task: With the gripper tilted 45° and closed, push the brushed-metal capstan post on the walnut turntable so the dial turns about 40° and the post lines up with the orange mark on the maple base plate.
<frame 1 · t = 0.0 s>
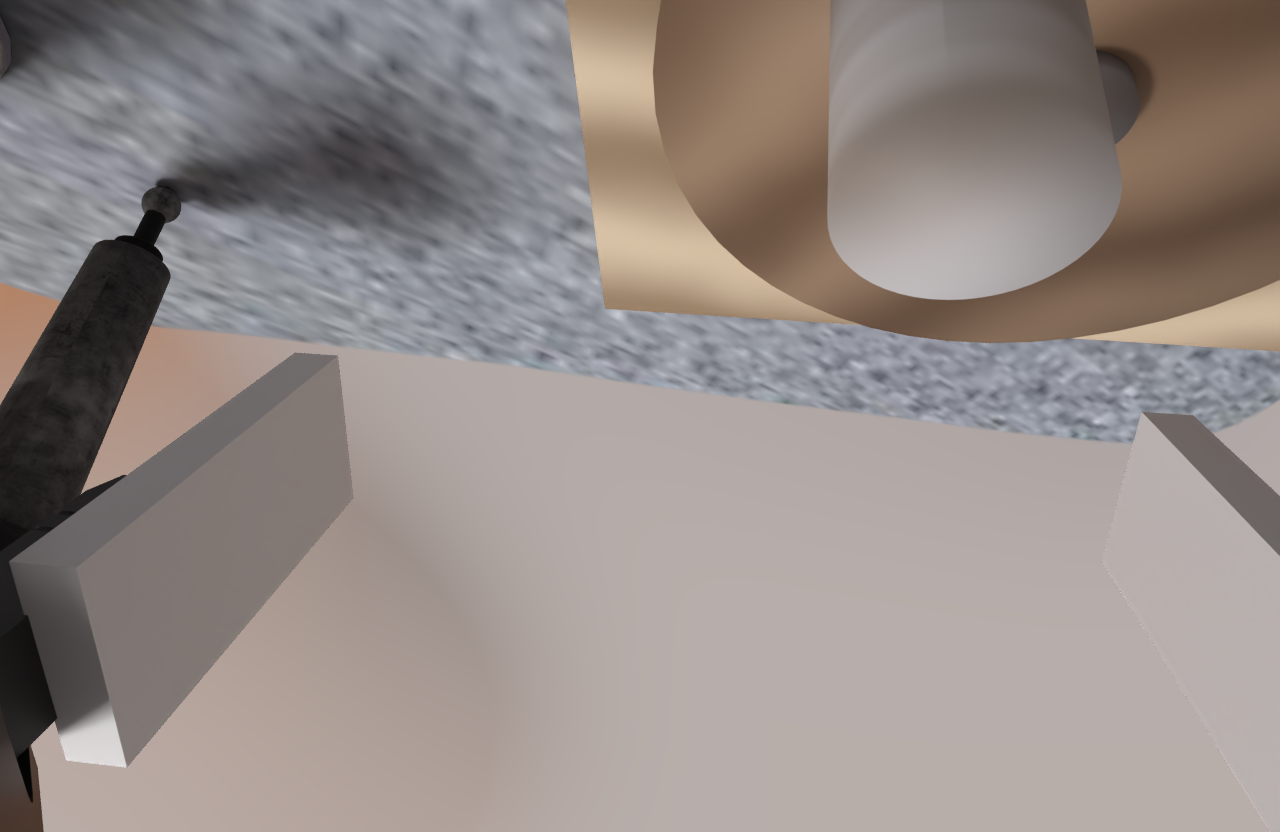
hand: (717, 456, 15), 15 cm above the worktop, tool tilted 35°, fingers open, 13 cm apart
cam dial: (1087, 228, 20), point 8 cm above the worktop, hinge at 0.0°
microphone: (169, 188, 35), on the worktop
stand plate: (1048, 2, 24), on the worktop
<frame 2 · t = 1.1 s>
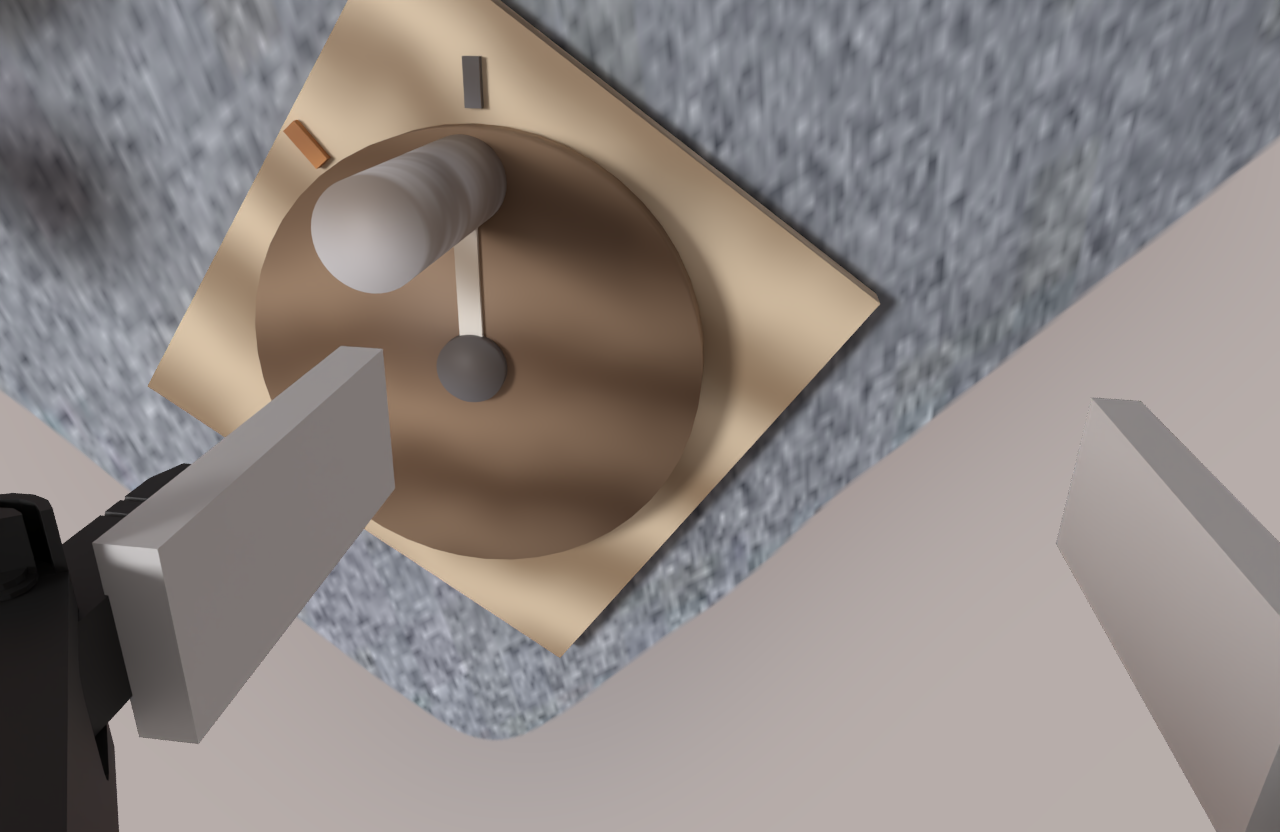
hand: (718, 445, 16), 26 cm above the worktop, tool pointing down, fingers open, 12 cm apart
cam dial: (445, 400, 37), point 8 cm above the worktop, hinge at 0.0°
stand plate: (496, 337, 44), on the worktop
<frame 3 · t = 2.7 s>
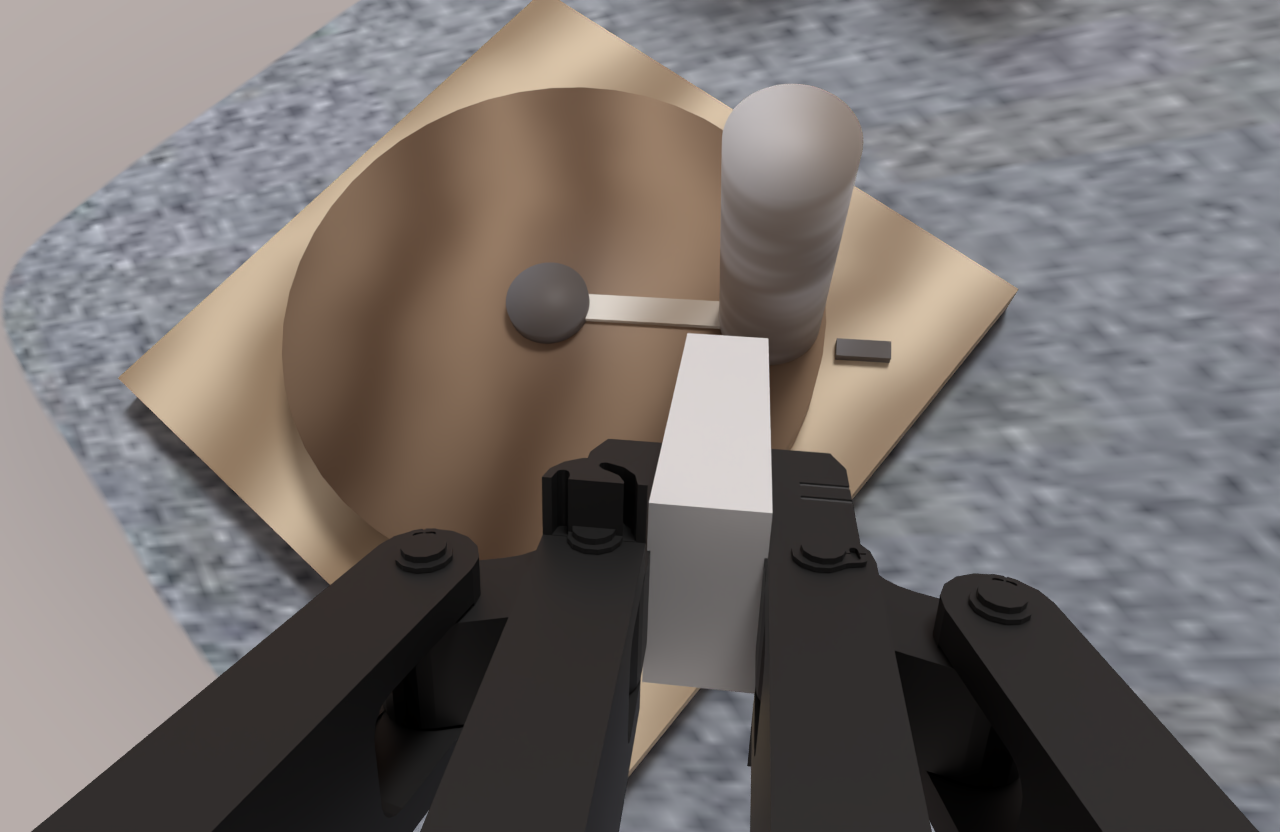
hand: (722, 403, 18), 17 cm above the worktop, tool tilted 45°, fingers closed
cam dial: (529, 248, 30), point 8 cm above the worktop, hinge at 0.0°
stand plate: (564, 351, 37), on the worktop
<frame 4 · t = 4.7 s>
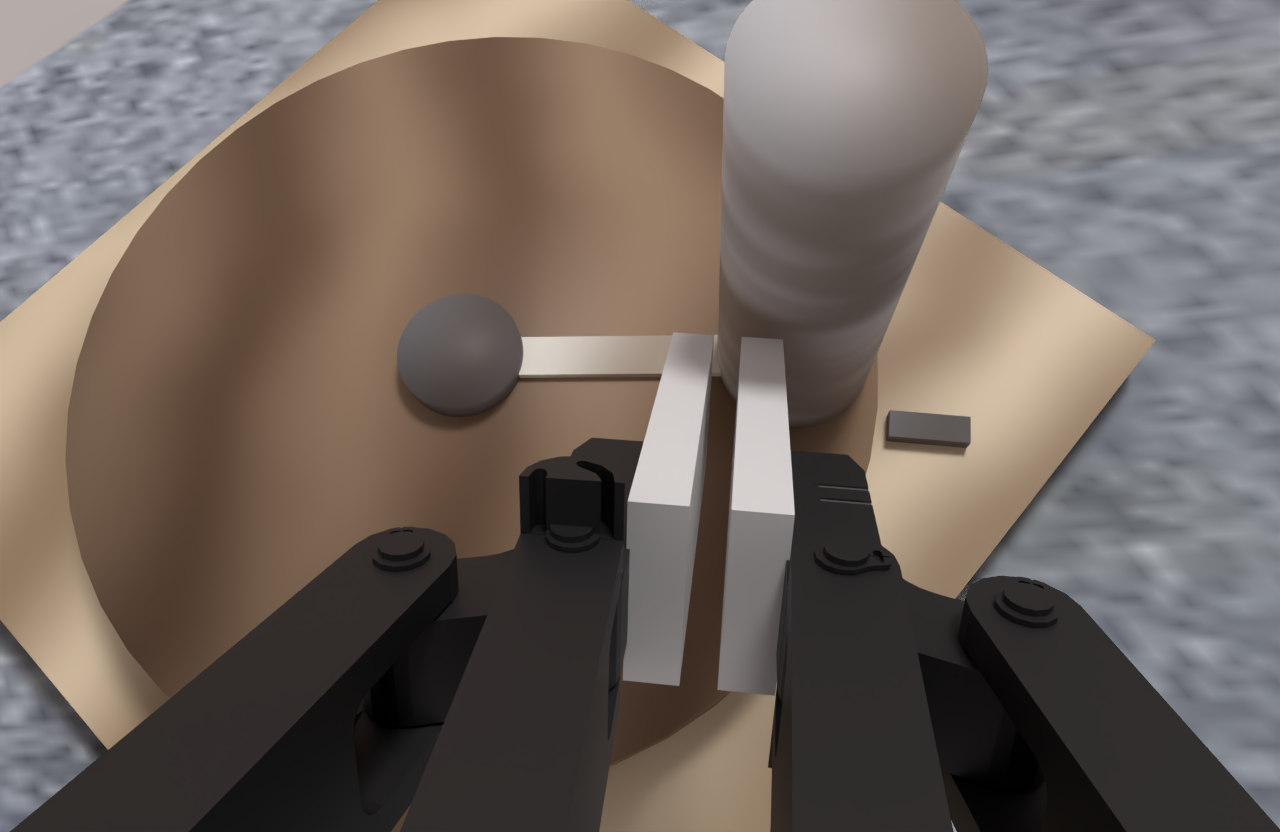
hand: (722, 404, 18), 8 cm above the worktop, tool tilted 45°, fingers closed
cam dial: (416, 280, 19), point 8 cm above the worktop, hinge at 5.6°, touching gripper
stand plate: (497, 414, 26), on the worktop
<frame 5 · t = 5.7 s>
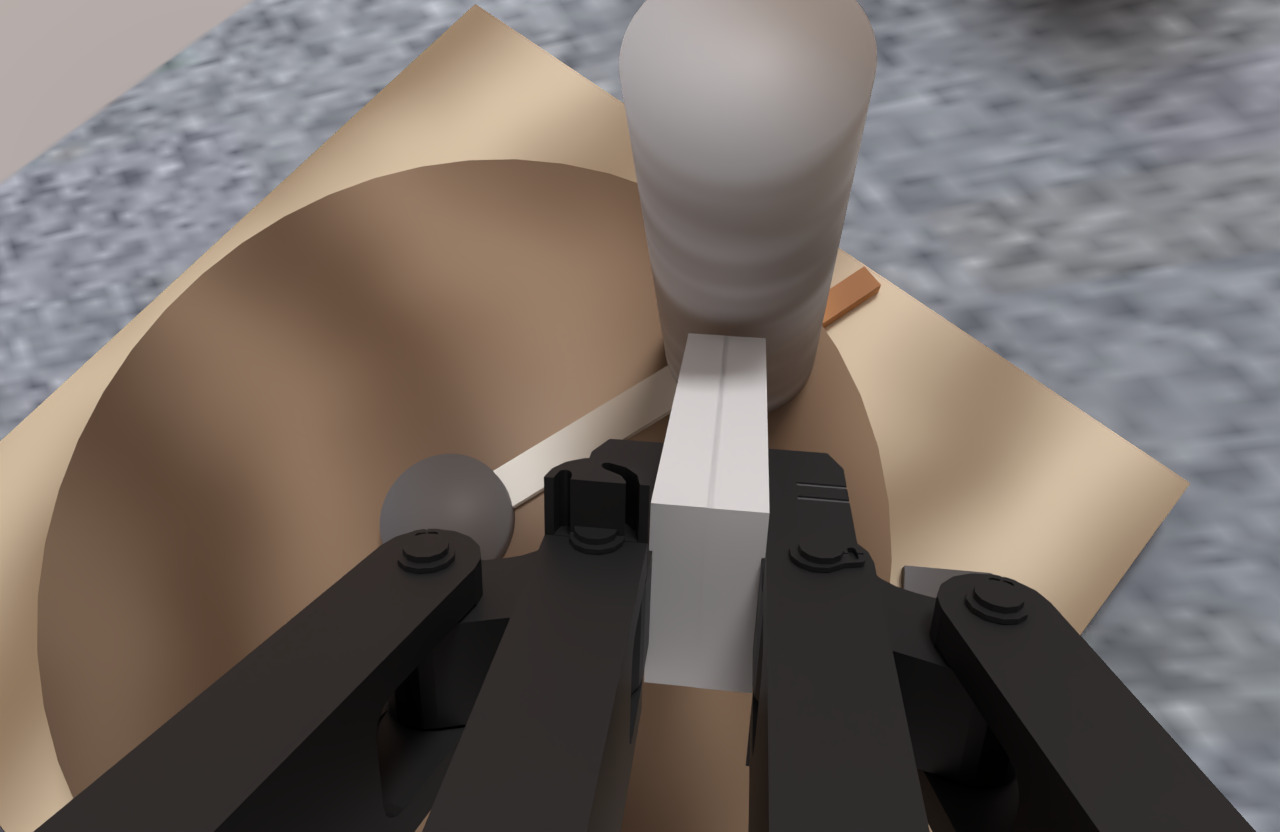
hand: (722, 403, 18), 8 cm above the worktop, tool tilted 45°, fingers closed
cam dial: (392, 474, 18), point 8 cm above the worktop, hinge at 37.7°, touching gripper
stand plate: (491, 555, 25), on the worktop
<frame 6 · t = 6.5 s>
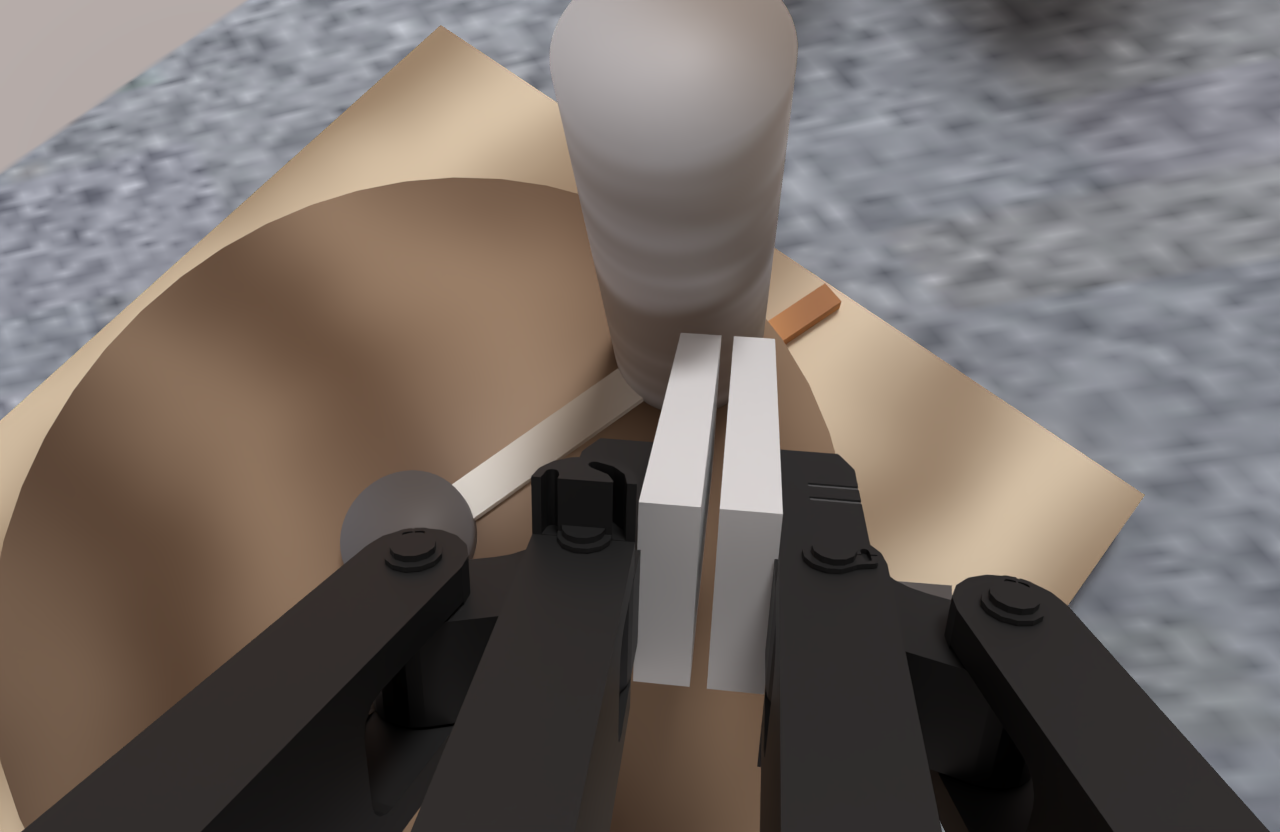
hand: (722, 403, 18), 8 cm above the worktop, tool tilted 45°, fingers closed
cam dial: (350, 490, 18), point 8 cm above the worktop, hinge at 41.9°
stand plate: (455, 573, 25), on the worktop
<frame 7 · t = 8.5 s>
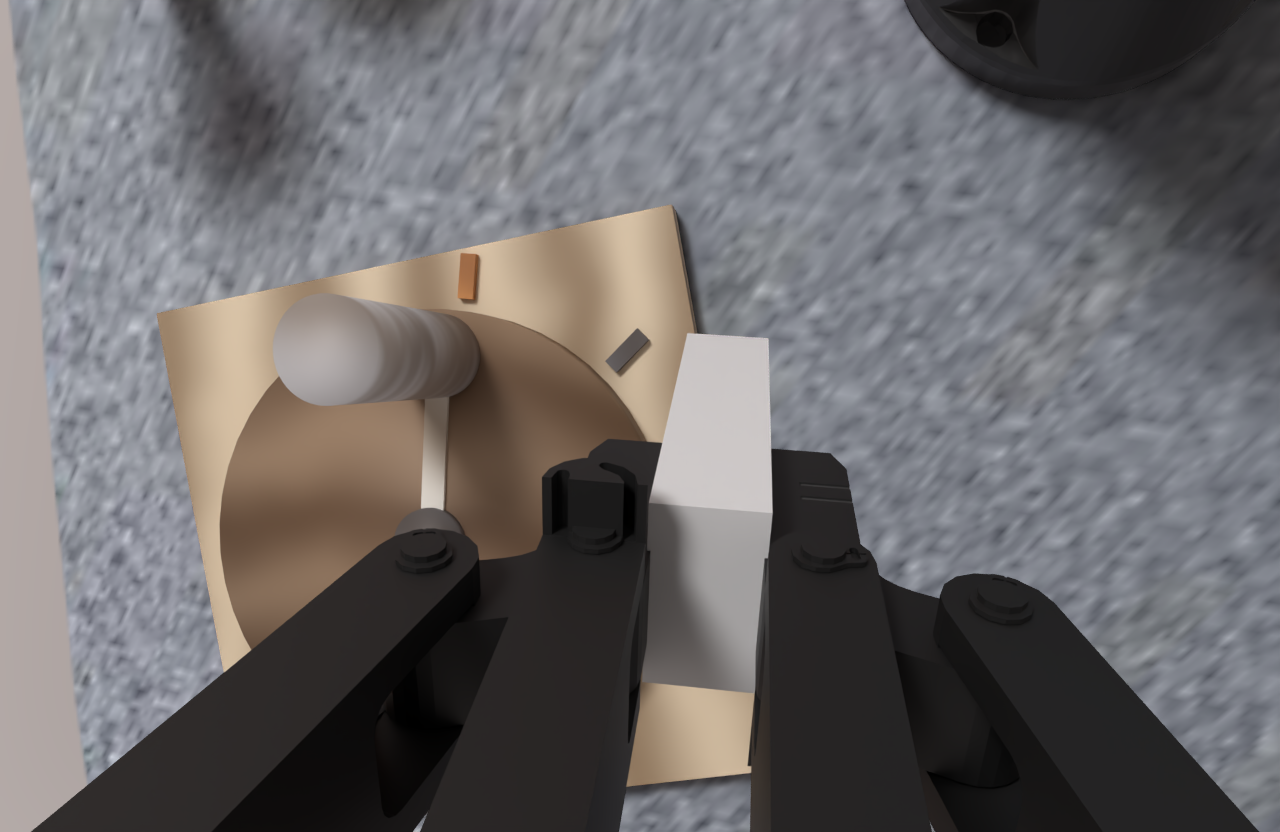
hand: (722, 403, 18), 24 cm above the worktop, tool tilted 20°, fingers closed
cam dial: (393, 559, 36), point 8 cm above the worktop, hinge at 41.9°
stand plate: (462, 527, 44), on the worktop
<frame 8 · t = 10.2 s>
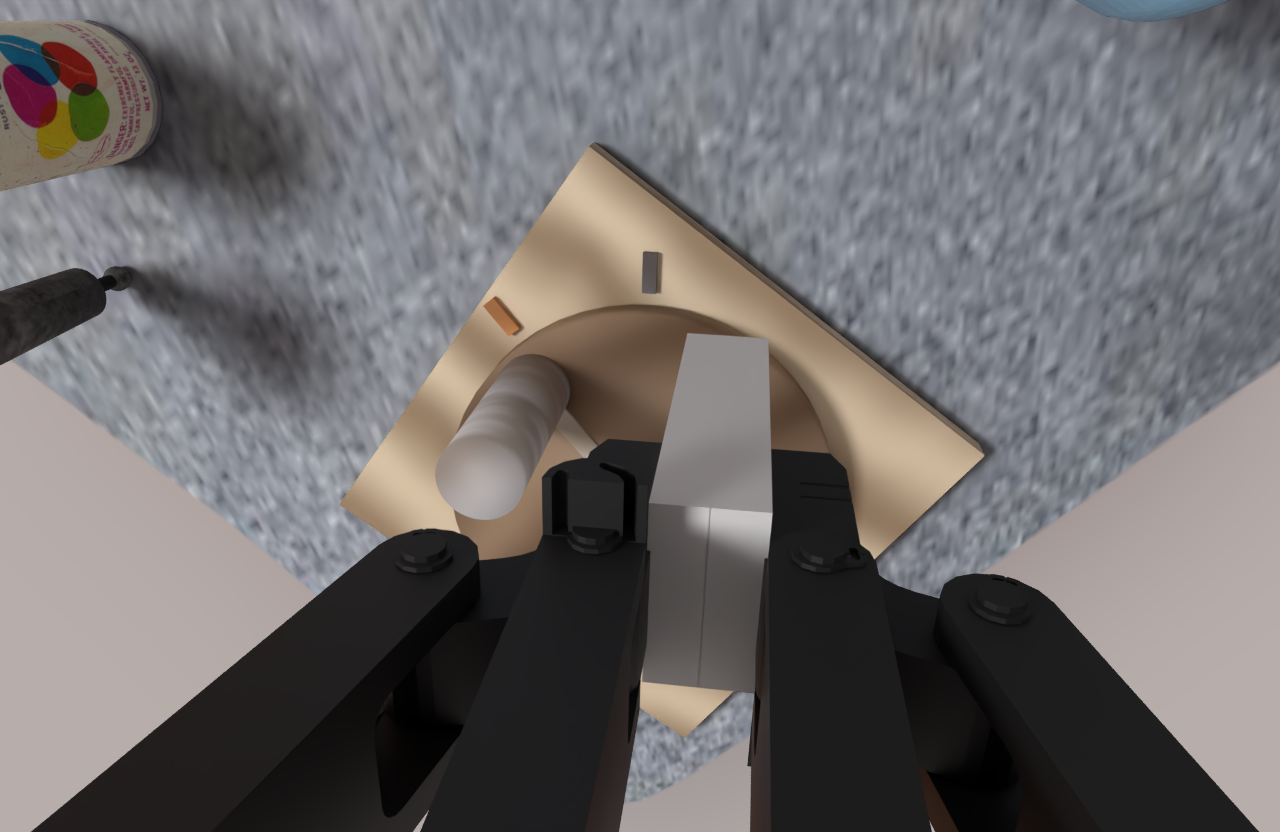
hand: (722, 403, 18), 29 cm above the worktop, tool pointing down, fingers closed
aerosol can: (100, 93, 47), on the worktop
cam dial: (627, 542, 44), point 8 cm above the worktop, hinge at 41.9°
microphone: (127, 274, 51), on the worktop
stand plate: (646, 469, 51), on the worktop
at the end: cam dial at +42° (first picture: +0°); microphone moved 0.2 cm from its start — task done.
